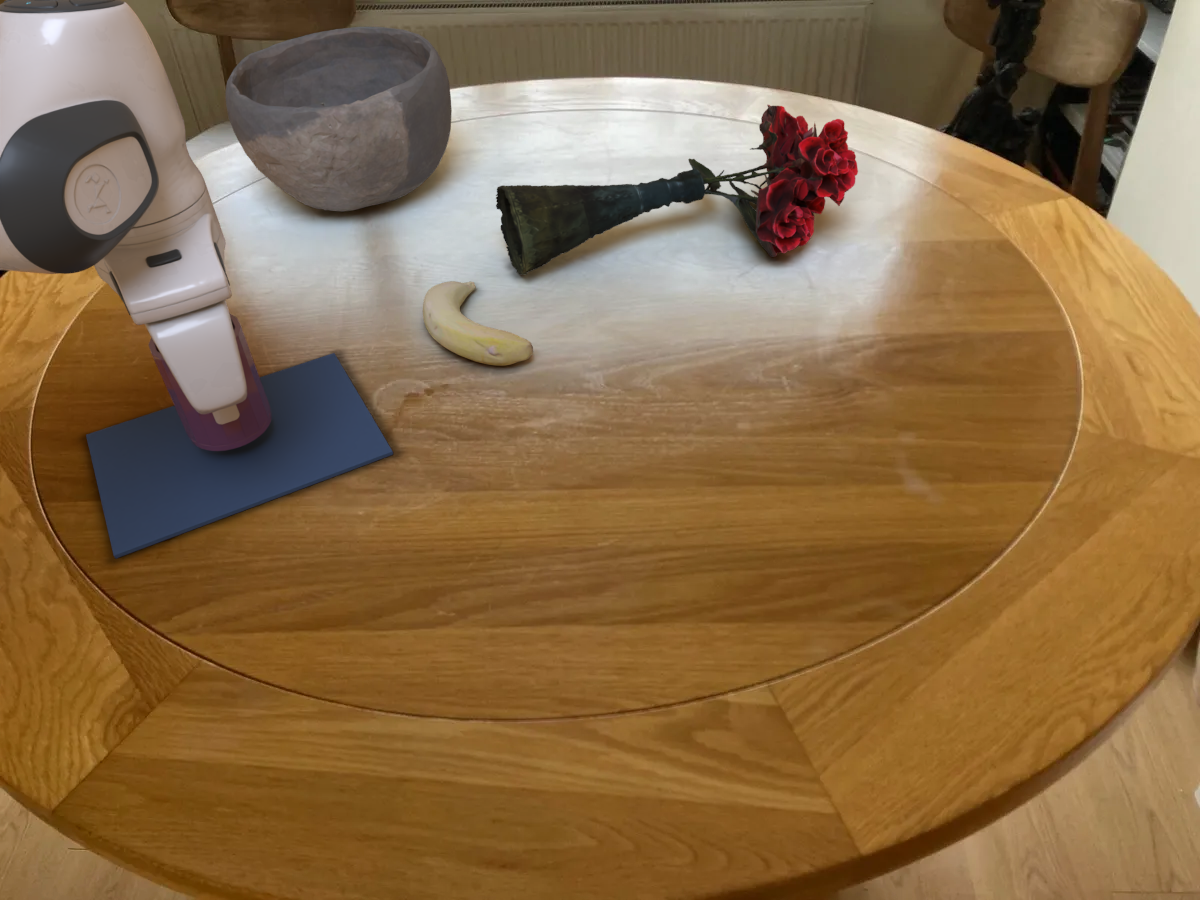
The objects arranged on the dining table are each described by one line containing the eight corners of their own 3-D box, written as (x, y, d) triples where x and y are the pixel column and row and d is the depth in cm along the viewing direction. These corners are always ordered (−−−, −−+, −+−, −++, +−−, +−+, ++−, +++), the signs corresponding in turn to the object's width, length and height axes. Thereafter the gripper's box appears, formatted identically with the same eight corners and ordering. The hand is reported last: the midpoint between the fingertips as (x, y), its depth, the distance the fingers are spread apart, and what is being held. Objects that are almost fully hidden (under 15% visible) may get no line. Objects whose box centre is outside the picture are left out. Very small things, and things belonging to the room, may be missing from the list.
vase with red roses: (528, 336, 104) (819, 254, 110) (552, 313, 86) (899, 215, 92) (486, 195, 103) (782, 120, 109) (500, 141, 85) (854, 55, 91)
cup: (197, 462, 76) (157, 371, 70) (181, 415, 80) (142, 326, 74) (281, 432, 78) (249, 342, 72) (260, 388, 82) (229, 300, 76)
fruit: (464, 390, 85) (459, 360, 83) (406, 308, 95) (400, 279, 93) (537, 365, 87) (534, 335, 85) (473, 287, 97) (469, 259, 95)
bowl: (289, 264, 102) (249, 128, 92) (235, 176, 118) (195, 52, 108) (498, 202, 111) (481, 71, 100) (420, 128, 127) (400, 8, 116)
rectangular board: (115, 559, 72) (113, 555, 71) (87, 438, 82) (85, 434, 82) (393, 454, 79) (392, 451, 79) (335, 356, 90) (334, 352, 89)
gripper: (88, 189, 73) (152, 337, 82) (130, 319, 60) (202, 478, 69) (172, 167, 75) (226, 314, 84) (232, 288, 62) (288, 447, 71)
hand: (216, 389), depth 77 cm, fingers closed on cup, 7 cm apart
